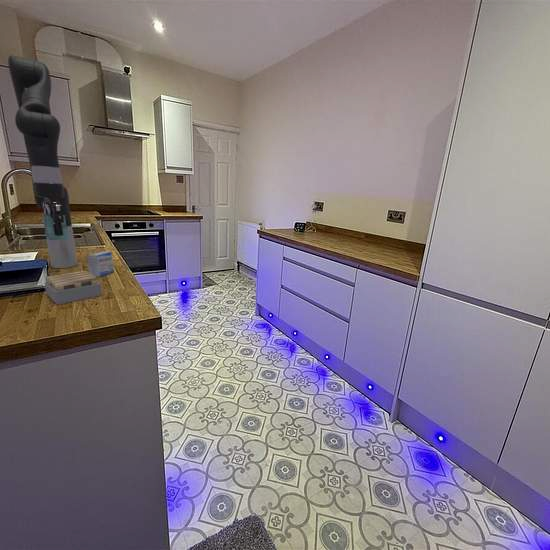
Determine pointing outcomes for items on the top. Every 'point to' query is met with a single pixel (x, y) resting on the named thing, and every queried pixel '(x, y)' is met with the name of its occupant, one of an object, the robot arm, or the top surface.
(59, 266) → the robot arm
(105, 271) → the medicine box
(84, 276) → the pallet
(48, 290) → the platform
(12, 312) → the top surface
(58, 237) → the teal upright block
